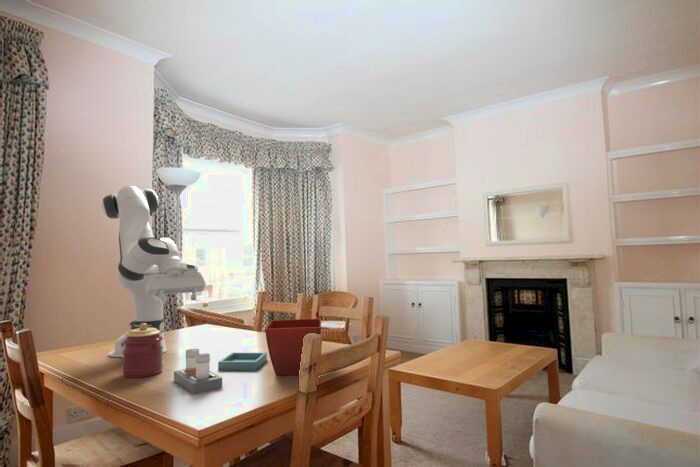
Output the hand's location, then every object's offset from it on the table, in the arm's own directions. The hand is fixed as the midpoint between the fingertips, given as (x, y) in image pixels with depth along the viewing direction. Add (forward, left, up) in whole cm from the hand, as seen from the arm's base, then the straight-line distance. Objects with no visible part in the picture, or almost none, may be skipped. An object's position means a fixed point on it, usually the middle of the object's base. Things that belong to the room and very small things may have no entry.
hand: (180, 300), depth 143 cm
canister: (-13, 0, -26) cm, 29 cm away
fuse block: (+12, -12, -26) cm, 31 cm away
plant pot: (+41, +5, -26) cm, 48 cm away
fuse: (+15, -15, -26) cm, 33 cm away
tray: (+20, +11, -26) cm, 34 cm away
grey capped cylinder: (+9, -8, -26) cm, 28 cm away
